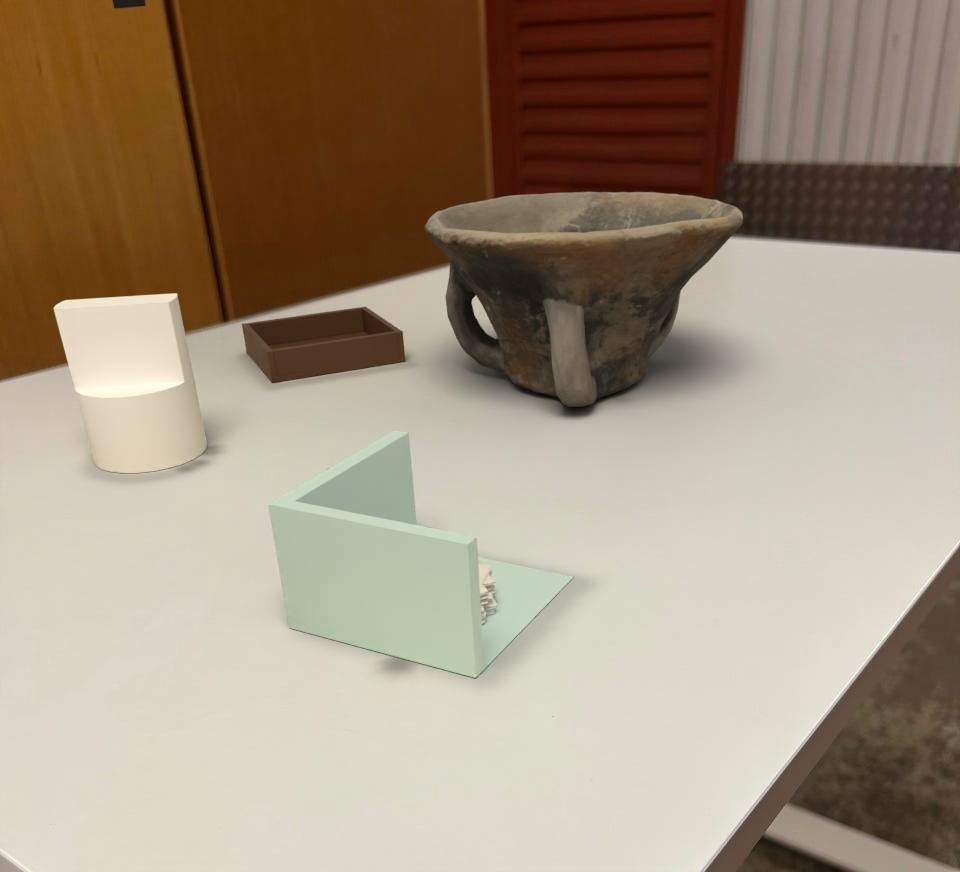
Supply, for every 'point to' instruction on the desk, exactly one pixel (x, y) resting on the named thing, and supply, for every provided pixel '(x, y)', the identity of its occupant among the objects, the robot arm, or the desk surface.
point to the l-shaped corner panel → (396, 569)
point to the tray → (322, 343)
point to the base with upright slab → (133, 381)
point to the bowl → (575, 282)
